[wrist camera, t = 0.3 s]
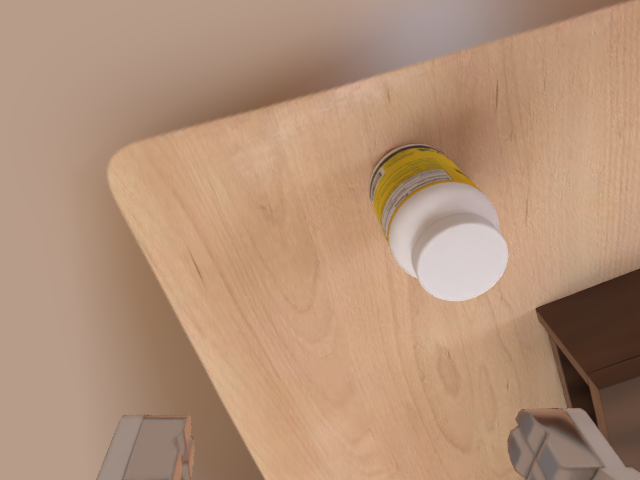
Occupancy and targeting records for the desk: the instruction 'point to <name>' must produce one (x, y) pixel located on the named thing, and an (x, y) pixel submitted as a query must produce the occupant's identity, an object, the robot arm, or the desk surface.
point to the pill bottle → (437, 223)
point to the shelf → (601, 358)
